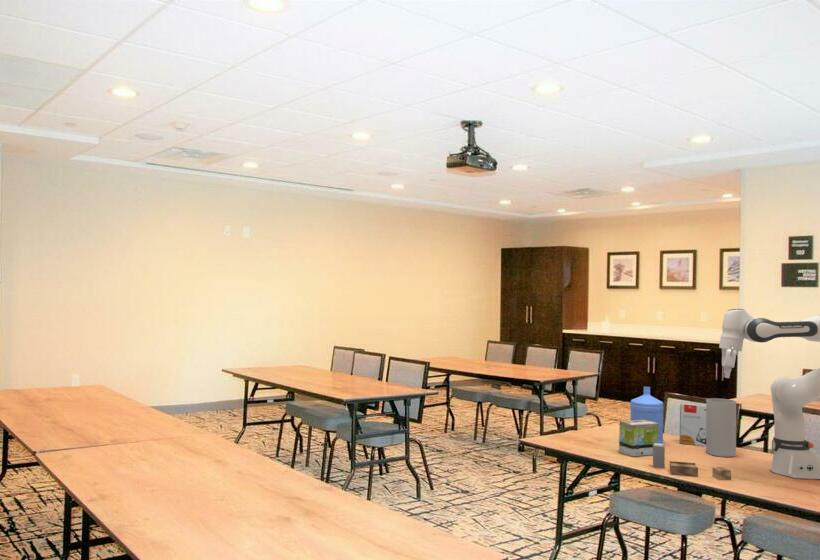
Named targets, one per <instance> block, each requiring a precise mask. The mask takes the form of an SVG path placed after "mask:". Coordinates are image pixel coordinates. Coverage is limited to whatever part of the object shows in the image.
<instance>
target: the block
mask: <svg viewBox="0 0 820 560" xmlns="http://www.w3.org/2000/svg"><path fill="white" fill-rule="evenodd" d="M712 478H714V479H717V480H718V481H732V470H731V469H730V468H728V467H726V466H712Z"/></svg>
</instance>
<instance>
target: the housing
mask: <svg viewBox="0 0 820 560" xmlns="http://www.w3.org/2000/svg"><path fill="white" fill-rule="evenodd" d="M665 451H666V447H665V444H664V443H663V444H658V443H654V444H653V455H652V467H653V468H657V469H658V468H659V469H665V459H666V458H665V457H666V456H665V453H666V452H665Z"/></svg>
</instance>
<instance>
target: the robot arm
mask: <svg viewBox="0 0 820 560" xmlns="http://www.w3.org/2000/svg"><path fill="white" fill-rule="evenodd" d="M721 328H722V333H721V335H720V338H719V346H718V347H719V349H721V366H722V367H723V375H722V377H724V378H726V379H730V378H731V377H730V376H731V372H732V369H734V368H735V364H736V358H737V355H739V352H742V351H743V345H744V341H745V340H748V341H750V342H755V343H767V342H769V341H772V340H774V339H778V338H802V339H804V340H806V341H809V342H818V343H820V315H814V316H813V315H812V316H808V317H805V318H803V319H802V320H798V321H773V320H771V319H768V318H765V317H755V316H754V315H752V314H751V313H749V312H748V311H747V310H746V309H744V308H732V309H728V310H726V311H725V313H724V316H723V321H722V326H721ZM744 339H745V340H744ZM770 393H771V403H772V411H773V419H774V421H773V422H774V424H773V425H774V429H773V431H774V436H773V437H772V438H773V440H772V449H773V450H772V451H773V455H772V462H771V465H770V467H769V470H770V472H772V473H775V474H777V475H780V476H781V475H782V476H786V477H790V478H793V479H808V480H809V479H810V480H812V479H813V480H820V456H819V455H817V454H816V453H815V452H814V451H812V450H811V449H813V448H815V444H814V443H813V442H812V441H811V442H809V441H808V440H807V439H806V422H805V421H806V420H805V417H804V412H803V407H805V406H806V405H808V404H810V403H813V402H815V401H817V400H819V399H820V367H819V368H816V369H813V370H810V371H809V372H807V373H806V374H803V375H800V376H798V377H796V378H790V377H780V378H777V379H775V380H774V381H772V383H771V385H770Z"/></svg>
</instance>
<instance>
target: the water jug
mask: <svg viewBox="0 0 820 560" xmlns="http://www.w3.org/2000/svg"><path fill="white" fill-rule="evenodd" d="M629 405H630V406H629V407H630V409H629V410H630V420H629V421H632V420H647V421H651V422H655V423H658V424H659V429H658V444H663V445H664V402H663V401H662V400H659V399H658V398H656V397H654V396H652V395H651V386H643V394H642V395H640V396H638V397H635V398H632V399H631V400H630V404H629Z"/></svg>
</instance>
